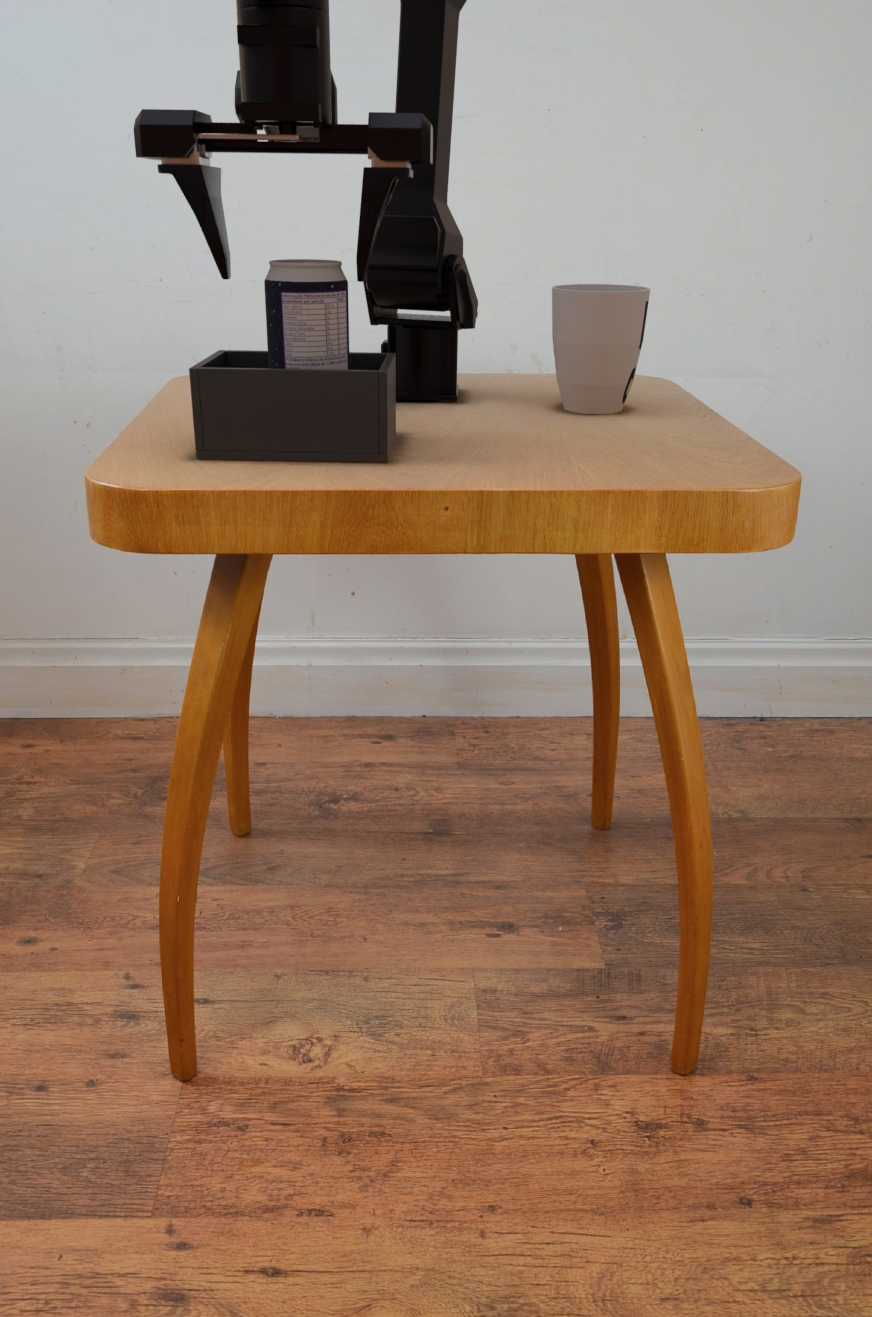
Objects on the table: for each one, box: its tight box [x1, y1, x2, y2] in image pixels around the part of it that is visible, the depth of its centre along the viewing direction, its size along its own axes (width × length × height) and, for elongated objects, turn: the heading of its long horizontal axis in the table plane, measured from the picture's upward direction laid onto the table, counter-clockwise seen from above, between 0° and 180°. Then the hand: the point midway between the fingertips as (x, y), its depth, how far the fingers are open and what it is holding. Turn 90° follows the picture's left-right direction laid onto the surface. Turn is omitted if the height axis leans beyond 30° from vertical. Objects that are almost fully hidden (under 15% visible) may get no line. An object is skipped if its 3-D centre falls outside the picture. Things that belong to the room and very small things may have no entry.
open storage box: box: [188, 349, 397, 464], centre depth 74 cm, size 13×9×6 cm
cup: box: [551, 283, 651, 415], centre depth 89 cm, size 8×8×10 cm
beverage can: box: [264, 258, 350, 370], centre depth 73 cm, size 6×6×12 cm
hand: (293, 279), depth 71 cm, fingers open, 9 cm apart
